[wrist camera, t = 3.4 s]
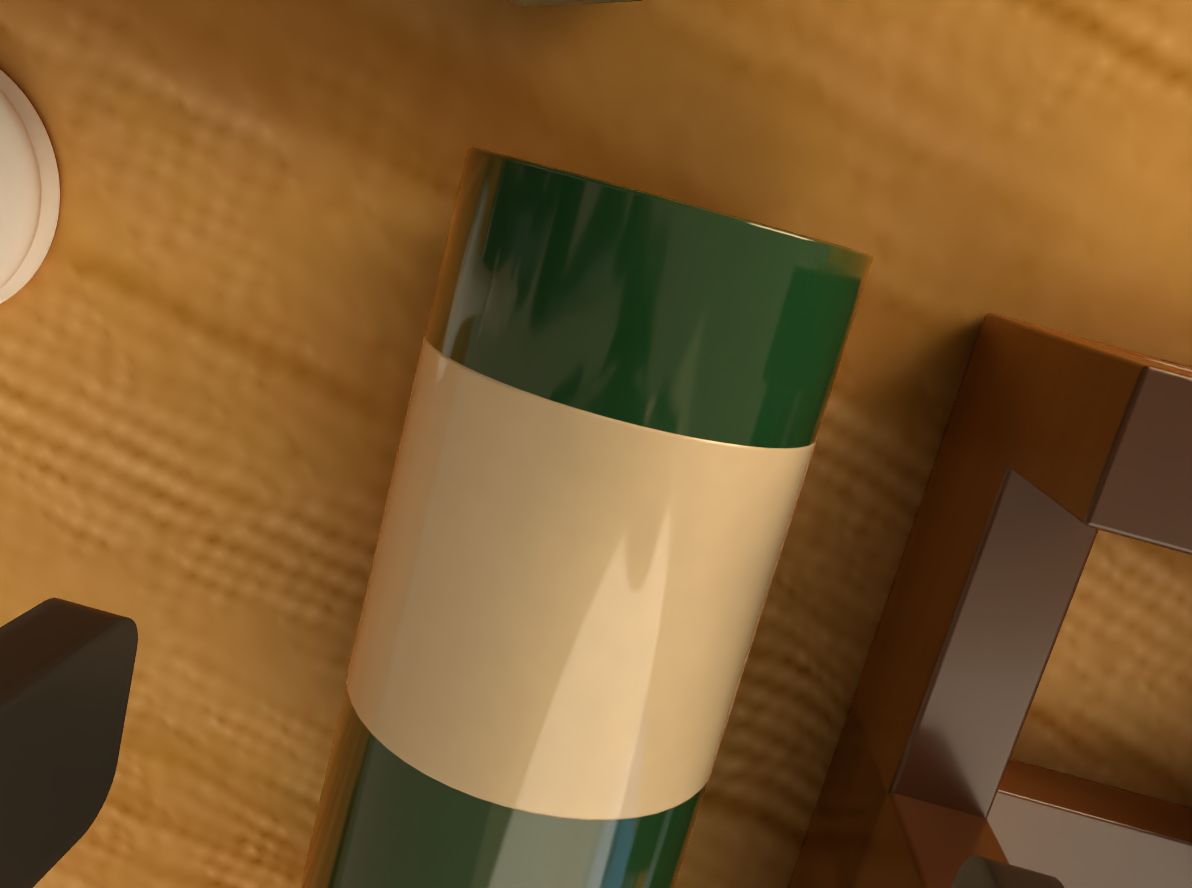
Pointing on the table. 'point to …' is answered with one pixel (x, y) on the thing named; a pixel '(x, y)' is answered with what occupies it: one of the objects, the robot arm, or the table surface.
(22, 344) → the table surface
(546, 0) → the squeeze bottle
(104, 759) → the robot arm
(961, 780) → the rack
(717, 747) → the bottle
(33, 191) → the chess piece
